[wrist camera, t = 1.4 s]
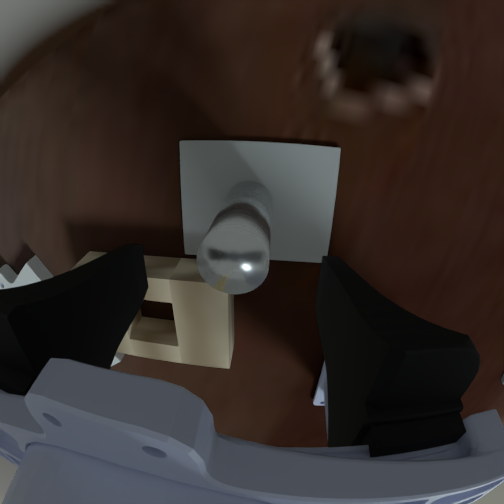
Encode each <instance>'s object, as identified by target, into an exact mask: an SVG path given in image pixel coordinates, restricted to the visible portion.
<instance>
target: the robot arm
mask: <svg viewBox="0 0 504 504" xmlns="http://www.w3.org/2000/svg"><path fill="white" fill-rule="evenodd" d="M148 287H149V286H148V280H147V274H146V267H145V261H144V254H143V247H142V245H140V244H127V245H124V246H121V247H119V248H117V249H115V250H112V251H110V252H108V253H106V254H104V255H102V256H100V257H98V258H96V259H94V260H92V261H90V262H88V263H86V264H83V265H81V266H79V267H77V268H75V269H73V270H70V271H68V272H65V273H63V274H60V275H58V276H55V277H52V278H49V279H46V280H42V281H39V282H35V283H32V284H28V285H23V286H19V287H13V288H7V289H0V455H1V456H2V457H3V458H5V459H6V460H8V461H9V462H11V463H12V464H14V465H15V466H17V467H18V469H17V471H16V473H15V475H14V477H13V480H12V482H11V484H10V486H9V488H8V490H7V493H6V495H5V498H4V500H3V502H2V504H470V503H473V502H475V501H476V500H478V499H479V498H481V497H482V496H484V495H485V494H487V493H488V492H490V491H491V490H493V489H494V488H495V487H497V486H498V485H500V484H501V483H502V482H504V427H503V424H502V422H501V420H500V417H499V415H498V413H497V411H496V409H492V410H489V411H485V412H481V413H477V414H473V415H471V416H468V417H467V418H465V419H464V420H463V421H462V418H461V415H460V413H459V412H461V411H462V410H463V404H462V402H461V399H460V398H461V397H462V395H463V394H464V393H465V391H466V390H467V388H468V387H469V385H470V384H471V382H472V381H473V379H474V378H475V376H476V374H477V372H478V370H479V366H480V362H481V361H480V355H479V353H478V351H477V350H476V348H475V346H474V344H473V343H472V341H471V339H470V338H469V336H468V335H465V334H462V333H459V332H456V331H452V330H449V329H446V328H443V327H441V326H438V325H436V324H433V323H431V322H428V321H426V320H424V319H422V318H420V317H418V316H416V315H414V314H412V313H410V312H408V311H406V310H405V309H403V308H401V307H399V306H398V305H396V304H395V303H393V302H392V301H390V300H389V299H387V298H386V297H384V296H383V295H382V294H380V293H379V292H378V291H376V290H375V289H374V288H373V287H371V286H370V285H369V284H368V283H367V282H366V281H364V280H363V279H362V278H361V277H360V276H359V275H358V274H357V273H356V272H354V271H353V270H352V269H351V268H350V267H349V266H348V265H347V264H346V263H345V262H344V261H343V260H341V259H340V258H339V257H336V256H322V262H321V269H320V275H319V281H318V287H317V293H316V299H315V300H316V316H317V324H318V329H319V334H320V339H321V345H322V350H323V355H324V364H323V367H322V371H321V375H320V378H319V382H318V385H317V389H316V392H315V395H314V399H313V404H314V405H325V414H326V425H327V438H328V447H325V448H285V447H274V446H269V445H264V444H259V443H255V442H250V441H246V440H242V439H238V438H234V437H230V436H226V435H223V434H219V433H216V432H215V429H214V423H213V416H212V414H211V412H210V411H209V409H208V407H207V406H206V404H205V402H204V401H203V400H202V399H200V398H199V397H197V396H196V395H194V394H193V393H191V392H190V391H188V390H187V389H185V388H184V387H182V386H178V385H175V384H172V383H169V382H166V381H163V380H160V379H154V378H149V377H143V376H138V375H133V374H128V373H124V372H119V371H114V370H110V367H111V365H112V362H113V359H114V357H115V354H116V352H117V349H118V347H119V345H120V343H121V341H122V340H123V338H124V336H125V334H126V332H127V331H128V329H129V327H130V325H131V324H132V322H133V320H134V318H135V316H136V315H137V313H138V311H139V309H140V307H141V305H142V303H143V300H144V298H145V295H146V293H147V290H148Z"/></svg>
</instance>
